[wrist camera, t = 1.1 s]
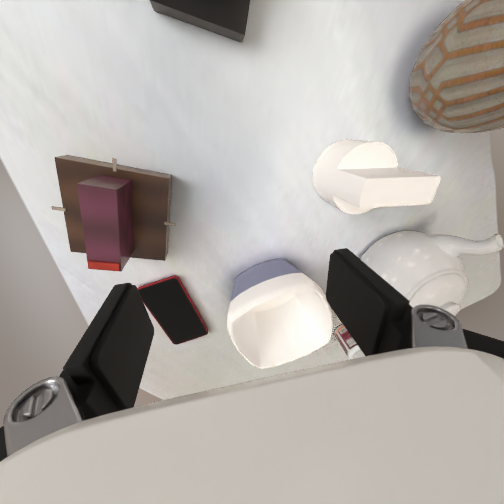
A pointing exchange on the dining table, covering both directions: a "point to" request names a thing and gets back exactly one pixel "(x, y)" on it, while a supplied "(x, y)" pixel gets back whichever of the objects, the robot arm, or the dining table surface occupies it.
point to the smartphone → (173, 309)
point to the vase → (462, 71)
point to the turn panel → (143, 203)
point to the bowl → (277, 314)
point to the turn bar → (107, 221)
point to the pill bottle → (348, 343)
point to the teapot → (427, 265)
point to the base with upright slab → (368, 178)
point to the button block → (209, 14)
